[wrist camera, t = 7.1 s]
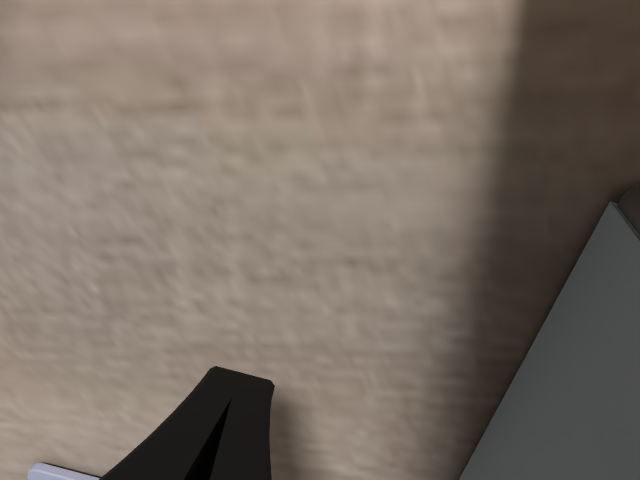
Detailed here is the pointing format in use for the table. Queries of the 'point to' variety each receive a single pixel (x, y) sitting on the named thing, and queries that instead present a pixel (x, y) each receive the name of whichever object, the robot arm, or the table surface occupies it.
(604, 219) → the cabinet door
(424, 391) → the table surface
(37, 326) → the table surface
